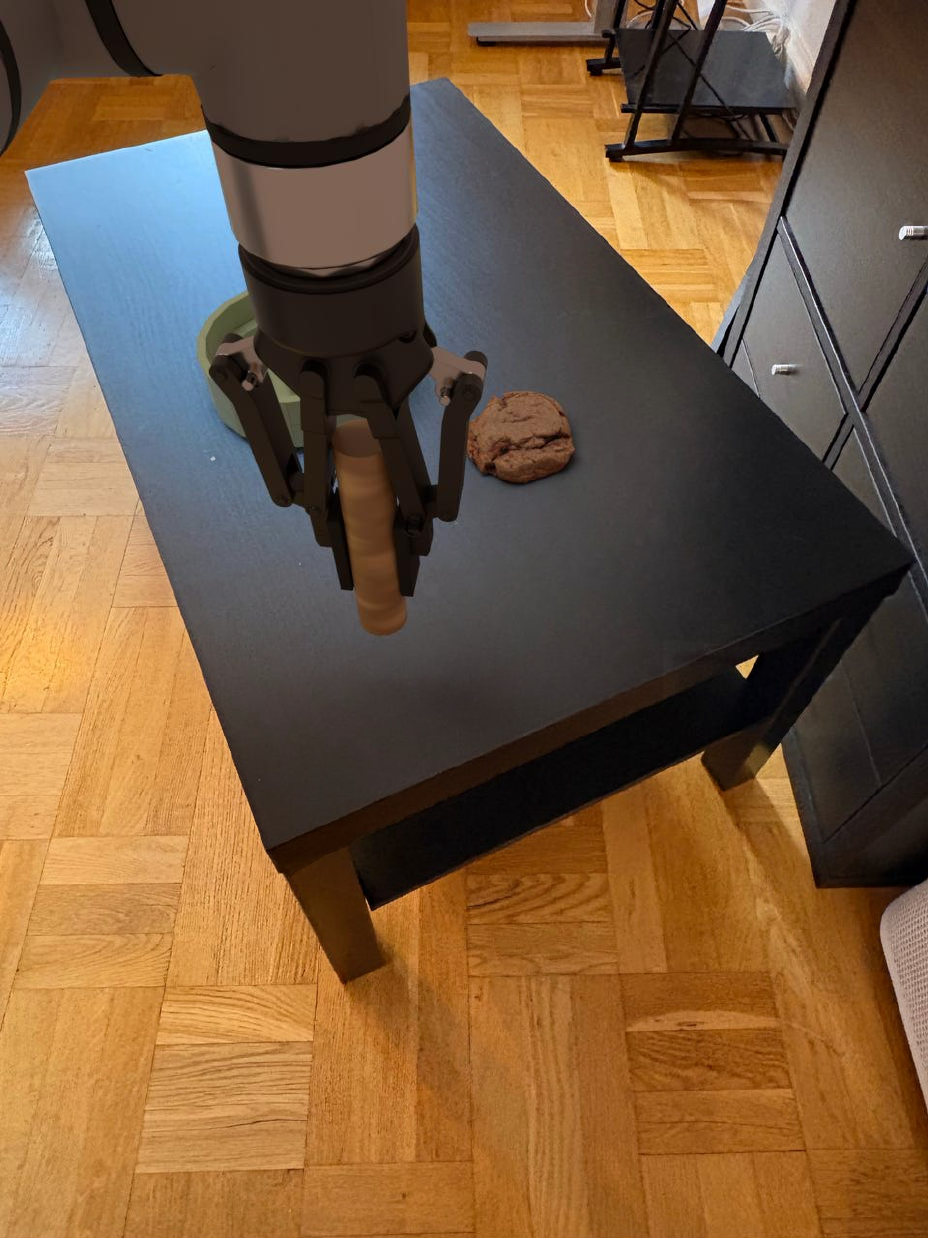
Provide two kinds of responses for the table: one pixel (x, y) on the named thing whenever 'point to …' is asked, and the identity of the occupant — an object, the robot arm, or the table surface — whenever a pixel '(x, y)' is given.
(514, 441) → the cookie
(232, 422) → the bowl
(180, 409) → the table surface
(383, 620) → the stick
